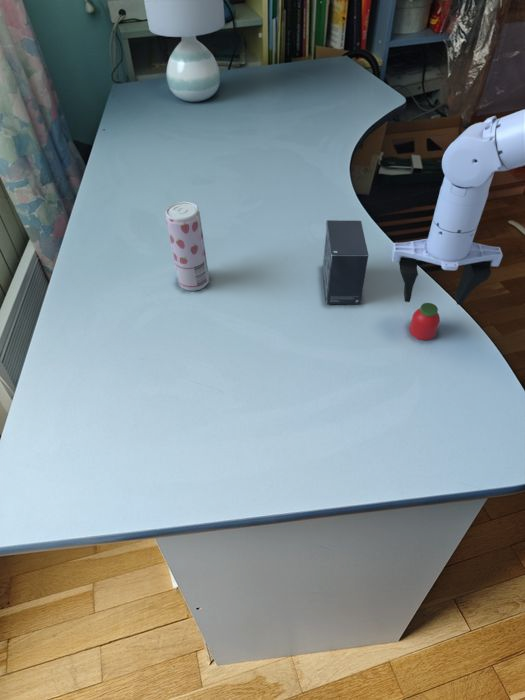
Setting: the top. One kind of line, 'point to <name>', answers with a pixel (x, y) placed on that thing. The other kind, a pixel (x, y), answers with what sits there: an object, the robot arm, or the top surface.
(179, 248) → the beverage can
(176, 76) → the lamp
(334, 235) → the small box
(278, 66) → the top surface
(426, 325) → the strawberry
